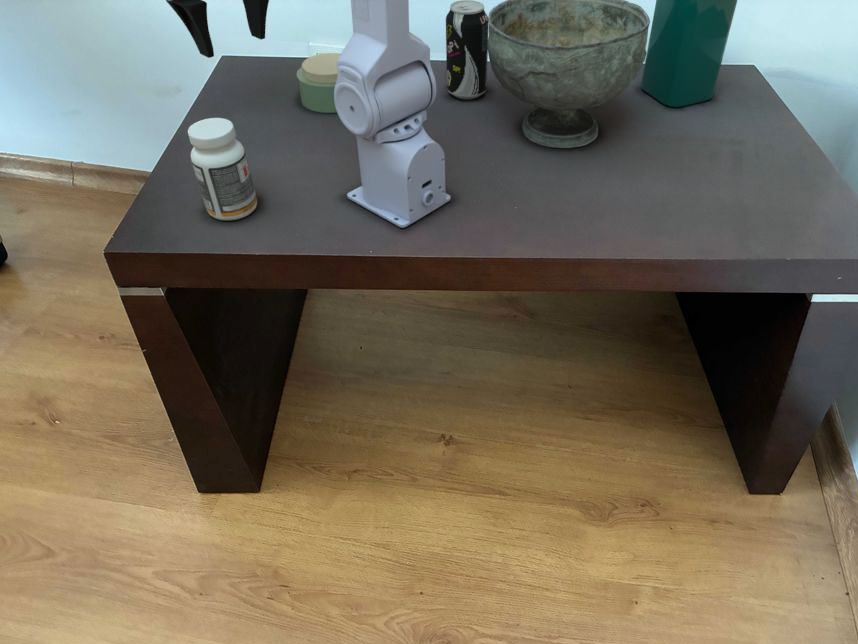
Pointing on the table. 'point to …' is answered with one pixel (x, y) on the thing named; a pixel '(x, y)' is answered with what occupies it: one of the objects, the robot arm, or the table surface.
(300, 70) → the squat jar
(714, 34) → the pitcher
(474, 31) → the beverage can
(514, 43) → the bowl
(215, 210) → the pill bottle
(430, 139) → the robot arm
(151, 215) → the table surface
